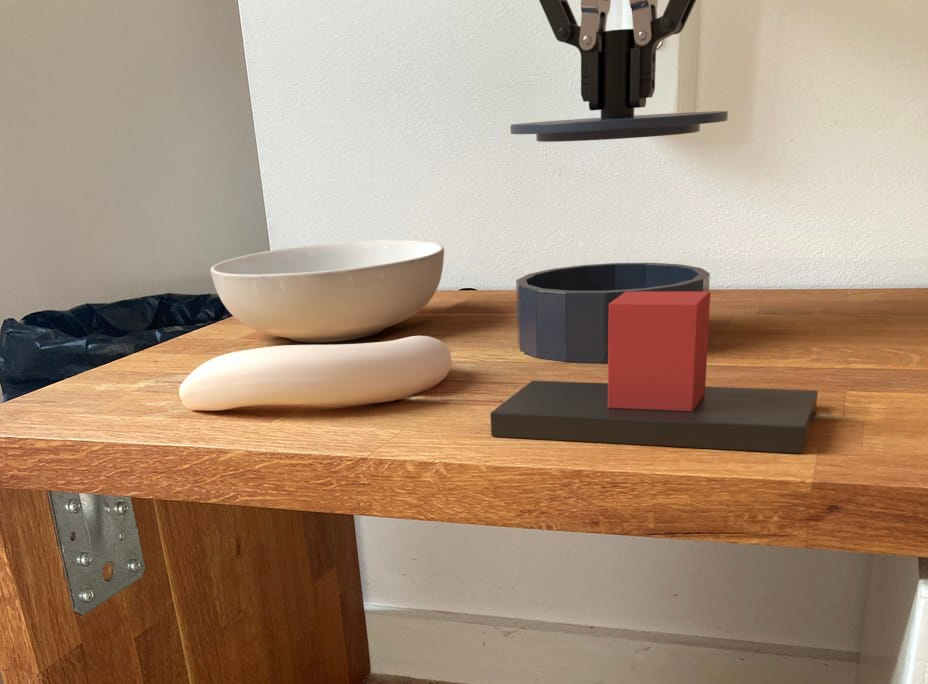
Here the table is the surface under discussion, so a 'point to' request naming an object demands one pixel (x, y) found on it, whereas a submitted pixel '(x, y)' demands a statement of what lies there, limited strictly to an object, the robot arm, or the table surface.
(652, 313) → the red chamfered block
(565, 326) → the pot
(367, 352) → the banana
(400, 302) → the serving bowl
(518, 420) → the board
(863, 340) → the table surface
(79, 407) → the table surface
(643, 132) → the pot lid
